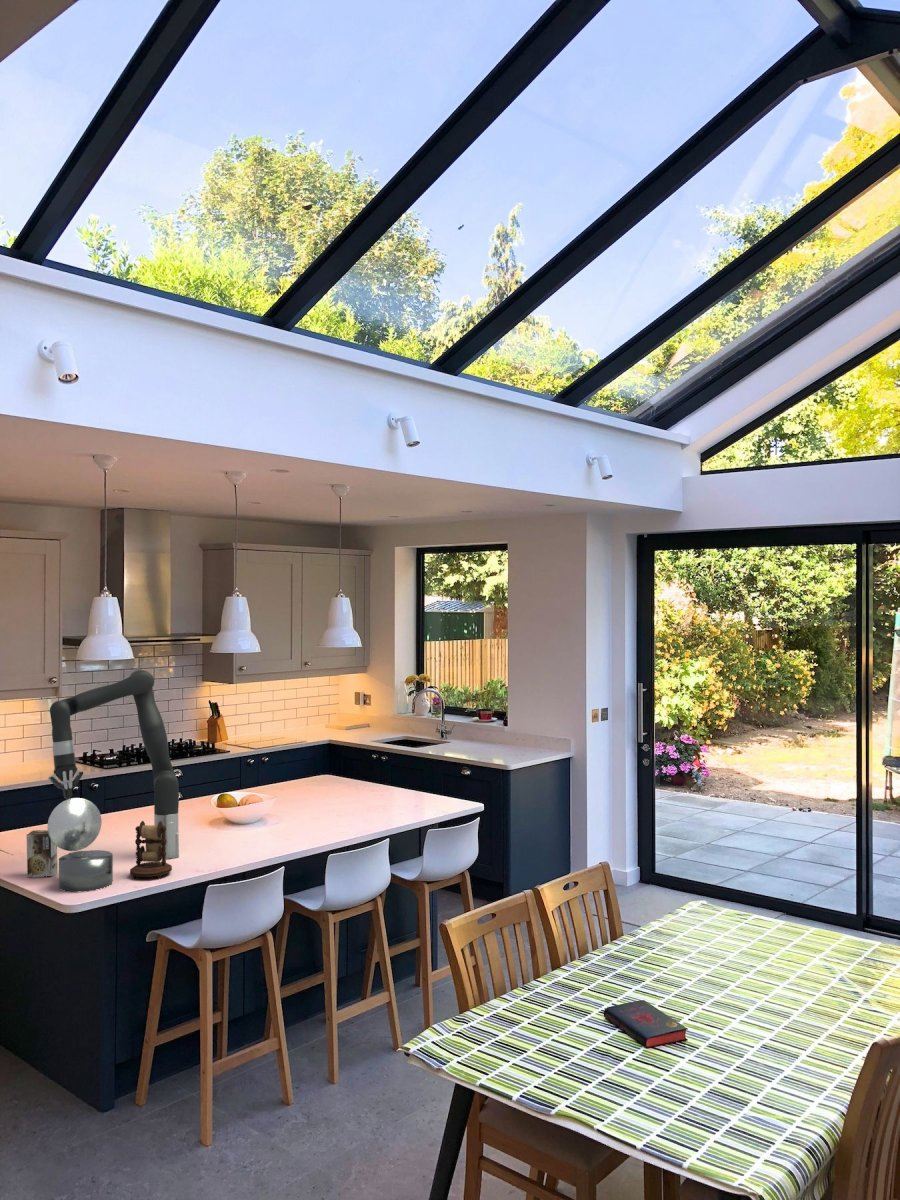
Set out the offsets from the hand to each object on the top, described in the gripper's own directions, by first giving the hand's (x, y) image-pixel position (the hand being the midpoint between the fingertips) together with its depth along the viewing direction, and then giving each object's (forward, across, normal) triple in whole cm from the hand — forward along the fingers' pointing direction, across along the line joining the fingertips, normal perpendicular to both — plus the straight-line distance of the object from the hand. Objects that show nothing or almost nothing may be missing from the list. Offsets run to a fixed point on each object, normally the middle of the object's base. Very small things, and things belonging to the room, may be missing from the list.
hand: (68, 798), depth 363 cm
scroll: (+31, -18, +25) cm, 44 cm away
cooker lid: (+9, +3, +13) cm, 16 cm away
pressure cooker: (+30, +4, +21) cm, 36 cm away
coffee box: (+26, +11, -3) cm, 29 cm away
